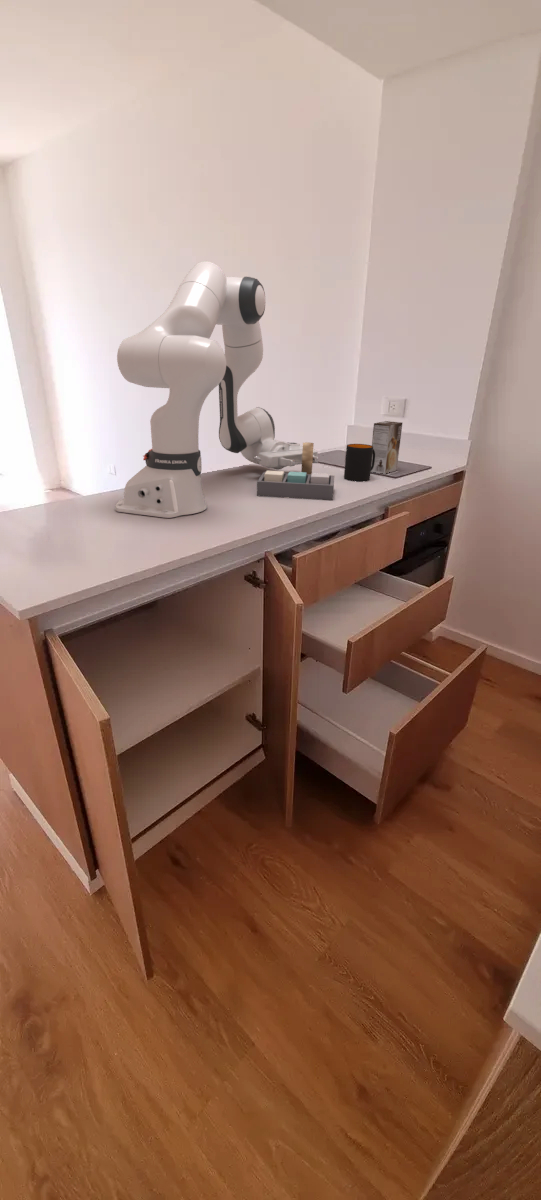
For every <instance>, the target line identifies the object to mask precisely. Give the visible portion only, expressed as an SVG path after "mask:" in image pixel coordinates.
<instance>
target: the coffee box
mask: <svg viewBox="0 0 541 1200" xmlns="http://www.w3.org/2000/svg"><path fill="white" fill-rule="evenodd" d="M402 428H403V422H399V421H391V420H388V421H387V420H385V421H380V422H375V423H373V429H372V441H371V446H373V449H374V451H375V463H374V467H373V469H372V470H371V473H373V472H376V473H375V474H380V473H383V474H382V475H387V474H386V473H388V474H390V473H394V472H396V471H397V470H398V462H399V455H400V445H401V438H402ZM372 460H373V454H372ZM371 466H372V464H371ZM389 472H390V473H389Z"/></svg>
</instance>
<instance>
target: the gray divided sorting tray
mask: <svg viewBox="0 0 541 1200" xmlns="http://www.w3.org/2000/svg"><path fill="white" fill-rule="evenodd" d="M265 473H266V471H263V472H262V474H261V475H260V476H259V478H258V479H257V481H256V496H257V497H269V498H270V497H271V498H284V497H289V498H288V499H302V498H303V499H304V500H305V499H306V500H319V499H323V500H324V501H333V499H334V487H335V475H333V474H332V475H331V474H329V485H327V484H310V483H311V474H307V475H306V483H290V482H287V478H288V473H289V472H284V480H283V482H271V481H264V475H265Z"/></svg>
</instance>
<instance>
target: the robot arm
mask: <svg viewBox="0 0 541 1200" xmlns="http://www.w3.org/2000/svg"><path fill="white" fill-rule="evenodd" d="M265 309H266V293H265V289H264V286H263V284H262V283H261V282H260V280H259V279H258V278H255V277H251V276H244V277H241V276H226V274H225V273H224V270H222V268H221V267H220V265H217V264H216V263H215V262H212V261H207V260H206V261H200V262H198V263H196V264H195V265H194V266H193V267H192V268H191V269H190V270H189V271H188V272H187V273H186V275H185V276H184V277H183V279H182V281H181V283H180V285H179V287H178V288H177V290H176V293H175V294H174V296H173V298H172V300H171V302H170V304H168V307H167V308H166V310H165V311H164V312H163V313H162V314H161V315H160V316H159V317H158V318H157V319H155V320H154V321H153V322H152V323H150V324H149V325H148V326H146V328H144V329H142V330H141V331H139V332H138V333H135V334H133V335H132V336H130V337H129V336H128V337H126V338H125V339H122V341H121V342H120V344H119V346H118V349H117V355H116V360H117V367H118V370H119V372H120V374H121V375H122V377H123V378H124V379H125V381H127V382H129V383H130V384H131V383H132V384H134V385H138V386H142V387H145V388H156V389H169V394H168V400H167V401H166V403H165V404H163V405H162V406H160V407H159V408H157V409H156V410H154V412H153V413H152V415H151V417H150V420H149V421H150V434H151V436H150V437H151V448H150V449H149V450H148V451H147V452H146V453H145V454H144V455H142V457H143V461H145V466H144V467H142V469H140V470H139V471H138V472H137V473H136V474H134V475H133V476H132V477H131V478H130V479H129V480H128V481H127V482H126V483H125V487H124V492H123V498H122V499H120V500H119V501H117V502H116V503H115V507H114V508H115V511H116V512H119V513H125V514H126V513H127V514H132V515H133V514H135V515H142V516H151V517H156V518H157V517H159V518H164V519H165V518H168V519H169V518H175V517H180V516H187V515H192V514H197V513H200V512H201V513H202V512H203V511H205V510H206V509H208V504H207V502H206V499H205V494H204V491H203V486H202V478H201V474H202V455H201V453H202V452H201V450H200V449H199V427H200V426H199V425H200V423H199V421H200V415H201V411H202V408H203V405H204V403H205V401H206V399H207V397H208V396H209V394H211V392H212V391H213V390H214V389H216V388H217V387H218V402H219V403H218V404H219V407H218V408H219V426H218V427H219V428H218V439H219V441H220V445H221V446H222V448H224V449H225V450H226V451H228V452H231V453H233V454H239V453H240V454H241V456H242V457H243V458H245V460H247V461H249V462H250V463H254V464H257V465H260V466H262V467H265V468H268V469H274V470H276V471H280V470H282V469H284V468H286V467H294V466H295V465H296V466H297V465H302V450H303V445H301V444H300V443H298V442H286V441H282V440H277V439H275V436H276V434H275V433H276V432H275V431H276V430H275V429H276V427H275V421H274V418H273V416H272V415H271V414H270V413H269V411H267V410H266V409H265V408H262V407H260V406H258V407H257V406H256V407H254V408H253V409H250V410H248V411H245V412H244V413H242V414H240V415H238V414H239V413H238V394H239V391H240V389H241V387H242V386H243V385H244V383H245V382H246V381H247V380H248V378H250V376H252V375H253V374H254V373H255V372H256V371H257V369H258V368H259V367H260V365H261V363H262V361H263V357H264V344H263V337H262V329H261V324H260V320H261V319H262V317H263V316H264V314H265V311H266V310H265ZM216 325H221V326H222V328H221V329H222V337H223V343H224V349H223V348H222V346H221V345H220V343H219V342H218V341H217V340H215V339H211V336H212V334H213V331H214V329H215V328H216ZM318 455H319V454H318V450H316V449H314V448H313V462H312V464H318V463H319V456H318Z"/></svg>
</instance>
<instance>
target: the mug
mask: <svg viewBox="0 0 541 1200" xmlns="http://www.w3.org/2000/svg"><path fill="white" fill-rule="evenodd" d="M372 454H373V460H372ZM374 463H375V451H374V449H373V446H372V444H364V443H349V444H347V445H346V450H345V461H344V470H343V471H344V472H343V473H344V474H343V479H344V480H345V481H349V482H355V481H356V483H357V482H358V483H359V482H361V483H363V481H365V482H368V481H370V479H371V473H372V472H371V470H372V469H373V467H374ZM371 464H372V466H371Z"/></svg>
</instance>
